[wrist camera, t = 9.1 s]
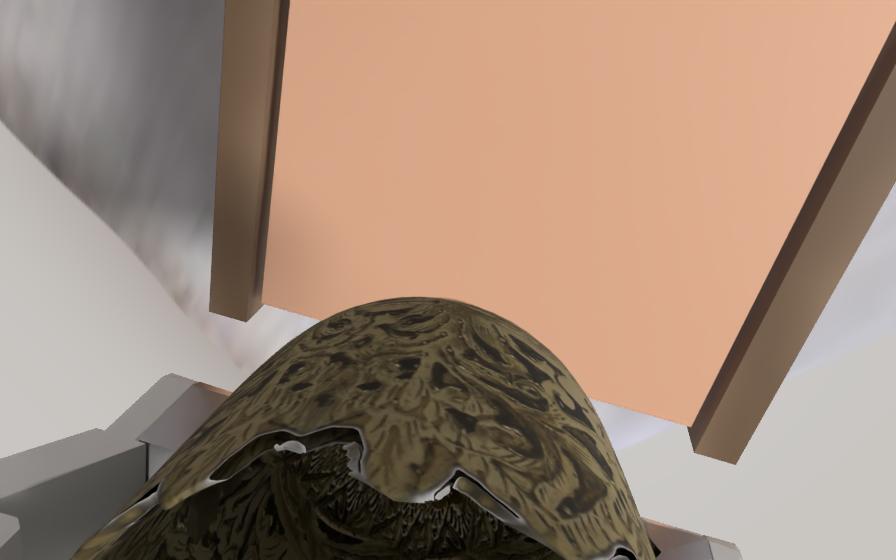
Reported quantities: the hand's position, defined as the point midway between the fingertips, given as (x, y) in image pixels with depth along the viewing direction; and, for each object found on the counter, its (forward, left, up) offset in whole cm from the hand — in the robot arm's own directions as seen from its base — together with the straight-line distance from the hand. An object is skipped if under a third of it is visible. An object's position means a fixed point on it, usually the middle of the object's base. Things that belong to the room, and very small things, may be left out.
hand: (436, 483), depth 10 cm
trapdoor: (0, -6, -13) cm, 14 cm away
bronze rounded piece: (+1, 0, -4) cm, 4 cm away
